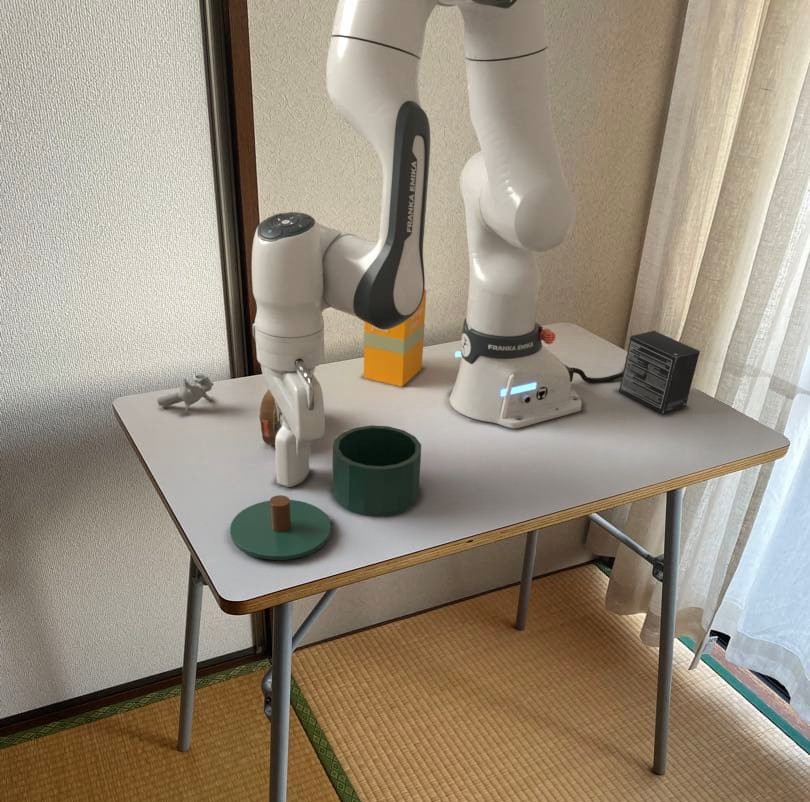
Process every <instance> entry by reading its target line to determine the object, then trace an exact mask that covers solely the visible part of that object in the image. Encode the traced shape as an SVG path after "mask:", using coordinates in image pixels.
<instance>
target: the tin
mask: <svg viewBox="0 0 810 802" xmlns="http://www.w3.org/2000/svg"><path fill="white" fill-rule="evenodd" d="M259 422H260V430H261V431H260V432H261V438H262V441H263V442H264V443H265V444H266V445H271V446H275V439H276V435H277V433H278V431H279V430H280V428H281V427H282V426H281V425H280V423H279V421H278V413H277V408H276V404H275V399H274V397H273V395H272V394H271V392H270V390H269V389H267V390H266V392H265V394H264V396H263V397H262V399H261V404H260V408H259Z"/></svg>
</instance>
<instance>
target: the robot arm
mask: <svg viewBox="0 0 810 802" xmlns="http://www.w3.org/2000/svg"><path fill="white" fill-rule="evenodd" d="M455 6H457V8H458V10H459V11H460V14H461V16H462V19H463V40H464V55H465V56H464V59H465V68H466V69H465V70H466V82H467V83H466V84H467V94H468V106H469V117H470V122H471V125H472V127H473V129H474V132H475V134H476V137H477V140H478V144H479V147H480V151H478V152H475V154H473V155H472V156H471V157H470V158H469V159H468V160H467V162H466V163H465V165H464V166H463V167H462V170H461V173H460V177H459V191H460V195H461V199H462V201H463V202H462V203H463V206H464V212H465V213H464V214H465V226H466V228H465V229H466V239H467V249H468V261H469V263H468V264H469V280H468V281H469V283H468V294H467V295H468V296H467V306H466V309H467V310H466V317H465V319H464V320H463V324H462V333H461V339H460V351H455V353H454V356H455V358H460V364H459V368H458V372H457V376H456V380H455V383H454V386H453V387H452V388H453V389H452V391H451V393H450V396H449V400H448V401H449V404H450V406H451V407H452V408H453V409H454V410H455V411H457V413H459V414H461V415H463V416H465V417H468V418H471V419H474V420H477V421H482V422H487V423H492V424H493V423H494V424H498V425H499V426H503V427H506V428H510V429H519V428H523V427H527V426H530V425H534V424H538V423H541V422H545V421H550V420H552V419H557V418H560V417H563V416H567V415H570V414H575V413H578V412H581V411H582V408H583V407H582V406H583V405H582V404H583V403H582V398H581V397H580V395H579V394H578V393H577V391H576V390H575V389H573V388H572V387H571V383H572V382H573V379H574V374H576V375H579V376H580V378H581V379H582V381H584V382H587V383H591V384H595V383H607V382H612V381H615V380H618V379H622V376H623V371H624V369H623V370H622V371H621V372H619V373H616V374H612V375H609V376H603V377H589V376H587V375H586V373H585V372H584V370H582V369H580V368H577V367H570V366H568V365H566V364H564V363H563V362H562V361H561V359H560V358H558V357H557V356H556V355H554V353H552V352H551V351H550V350H549V349H548V348H547V347H545V346H544V345H543V343H542V341H543V342H544V343H545V344H546V345H552V344H554V342H555V341H556V338H557V336H556V333H555V332H554V331H551V330H550V329H549V328H544V327H543V325H541V324H539V323H538V322H536V320H537V314H538V306H539V299H540V294H541V293H540V291H541V285H542V284H541V283H542V278H541V271H540V268H539V265H538V261H537V254H536V252H537V253H541V252H547V251H551V250H552V249H555V248H557V247H558V246H559V245H560V244H562V243H563V242H564V241H565V240H566V239H567V237H568V236H569V235H570V233H571V232H572V229H573V227H574V225H575V221H576V217H577V206H576V201H575V198H574V195H573V193H572V191H571V189H570V188H569V187H570V186H569V184H568V182H567V179H566V176H565V174H564V168H563V164H562V159H561V153H560V150H559V143H558V141H557V135H556V131H555V126H554V121H553V115H552V107H551V94H550V93H551V92H550V65H549V61H550V60H549V38H548V22H547V14H546V12H547V11H546V5H545V0H338V2H337V6H336V10H335V14H334V19H333V24H332V30H331V35H330V41H329V45H328V52H327V58H326V65H325V82H326V91H327V93H328V96H329V97H328V98H329V99H330V101H331V103H332V105H333V107H334V109H335V111H336V112H337V113H338V114H339V116H340V117H341V118H342V120H344V122H345V123H347V125H348V126H349V127H351V128H352V129H353V130H354V131H356V132H357V133H358V134H359V135H361V137H363V138H364V139H365V140H366V141H367V142H368V143H369V144H370V146H371V147H372V148H373V149H374V151H375V153H376V155H377V156H378V158H379V161H380V164H381V168H382V169H381V170H382V189H381V190H382V191H381V192H382V193H381V205H380V206H381V207H380V221H379V222H380V223H379V236H378V240H377V241H375V240H372V239H368V238H364V237H361V236H358V235H357V234H354V233H350V232H346V231H343V230H339V229H335V228H331V227H328V226H325V225H323V224H321V223H319V222H318V221H316V219H315V218H314V217H313V216H311V215H310V214H308V213H304V212H297V211H289V212H280V213H276V214H272V215H270V216H269V217H266V219H263V220H262V221H260V223H259V224H258V225H257V227H256V229H255V233H254V236H253V241H252V247H251V249H252V250H251V282H252V283H251V284H252V285H251V287H252V294H253V298H254V300H255V303H256V314H255V318H254V323H252V337H253V339H254V341H255V349H256V351H255V352H256V360H257V362H258V363H259V364H260V370H261V374H262V378H263V380H264V383H265V385H266V386H267V388H268V390H270V392H271V394H272V395H273V397H274V399H275V404H276V408H277V413H278V421H279V423H280V425H281V426H283V421H282V413H283V415H284V417H285V419H286V421H287V422H288V424H289V426H290V428H291V430H292V431H293V433H294V435H295V437H296V442H295V453H296V455H297V457H298V458H300V459H301V458H308V457H309V458H310V456H311V445H312V443H313V442H316V441H321V440H323V439H324V437H325V435H326V420H325V419H326V418H325V403H324V395H323V389H322V386H321V383H320V382H319V380H318V379H317V377H316V375H315V374H314V373H315V371H316V367H318V366H319V365H321V364H322V363H323V362H324V360H325V321H324V317H323V312H324V311H325V310H326V309H329V308H332V309H334V310H336V311H339V312H342V313H345V314H348V315H349V316H350V315H351V316H354V317H356V318H358V319H359V320H361V321H363V322H364V323H365V322H367V323H369V324H371V325H373V326H375V327H377V328H379V329H384V330H385V329H390V328H393V327H396V326H398V325H400V324H401V323H403V322H405V321H406V320H407V319H409V318H410V317H411V316H412V315H413V314H414V313H415V312H416V311H417V310H418V308H419V306H420V304H421V302H422V299H423V295H424V288H425V285H426V279H425V278H426V277H425V264H424V239H425V226H426V215H427V214H426V213H427V201H428V200H427V199H428V188H429V177H430V176H429V174H430V162H431V161H430V159H431V158H430V157H431V126H430V121H429V117H428V115H427V113H426V111H425V110H424V109H423V107H422V106H421V100H420V94H419V93H420V92H419V73H420V65H421V60H422V54H423V50H424V43H425V36H426V30H427V23H428V20H429V18H430V16H431V14H432V13H433V11H434V9H435V8H436V7H444V8H447V7H448V8H449V7H455ZM425 289H426V288H425Z"/></svg>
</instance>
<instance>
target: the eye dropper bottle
mask: <svg viewBox="0 0 810 802" xmlns="http://www.w3.org/2000/svg"><path fill="white" fill-rule="evenodd" d="M282 421H283V426H282V427H281V428H280V430H279V431H278V433H277V435H276V439H275V445H274V447H275V470H276V471H275V473H276V483H277V484H278V485H280V486H283V487H287V488H291V487H295V486H297V485H299V484H301V483H302V482H304V481H305V480H306V478H307V477H308V475H309V473H310V456H309V457H308V458H301V459H300V458H298V457H297V455H296V453H295V442H296V437H295V435H294V433H293V431H292V430H291V428H290V426H289V424H288V422H287V421H286V419H285V417H284V415H283V413H282Z"/></svg>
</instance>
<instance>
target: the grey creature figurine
mask: <svg viewBox="0 0 810 802" xmlns="http://www.w3.org/2000/svg"><path fill="white" fill-rule="evenodd" d="M196 373H197V372H196V371H194V373H193V377H192V379H193V381H194V383H196V384H190V383H189V382H188V381H187V379H186V378H184V379H183V384H184V385H183V386H180V388H179V391H178V392H174V393H171V394H170V393H169V394H166V395H163V396H160V397H159V396H156V402H157V404H158V406H159V407H162V409H166V408H168V407H171V406H173V405H175V404H179V403H183V402H184V404H185V411H184V413H183V415H186V413H187V411H188V409H189V407H190V406H192V405H193V404H195V403H198V401H200V400H201V399H203V398H204V399H205V400H206V401H211V397H210V396H209V395H208V394H207V392H210V391H211V390H212V388H213V386H214V382H212V381H211V379H210V378H209V377H208V376H205V375H204V374H201V373H199V374H197V375H196ZM197 384H198V385H197Z"/></svg>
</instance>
